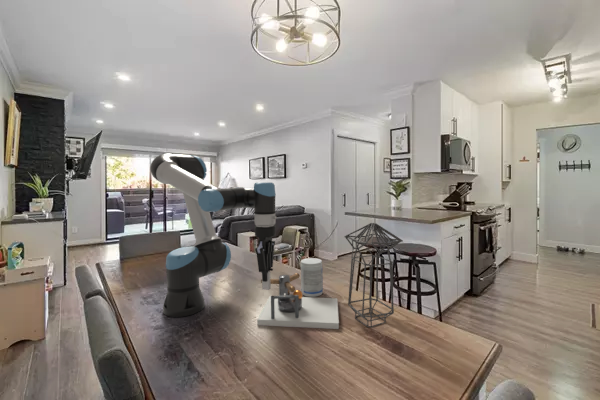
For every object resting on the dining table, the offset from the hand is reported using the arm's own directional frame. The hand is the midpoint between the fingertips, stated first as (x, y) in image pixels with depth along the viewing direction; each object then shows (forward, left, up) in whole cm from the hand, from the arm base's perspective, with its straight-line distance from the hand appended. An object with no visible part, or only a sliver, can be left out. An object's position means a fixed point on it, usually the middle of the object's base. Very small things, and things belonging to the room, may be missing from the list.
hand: (266, 288), depth 104 cm
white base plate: (+12, +3, -10) cm, 16 cm away
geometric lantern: (+38, +1, -11) cm, 40 cm away
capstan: (+5, +3, -8) cm, 10 cm away
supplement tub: (+15, +22, -11) cm, 29 cm away
